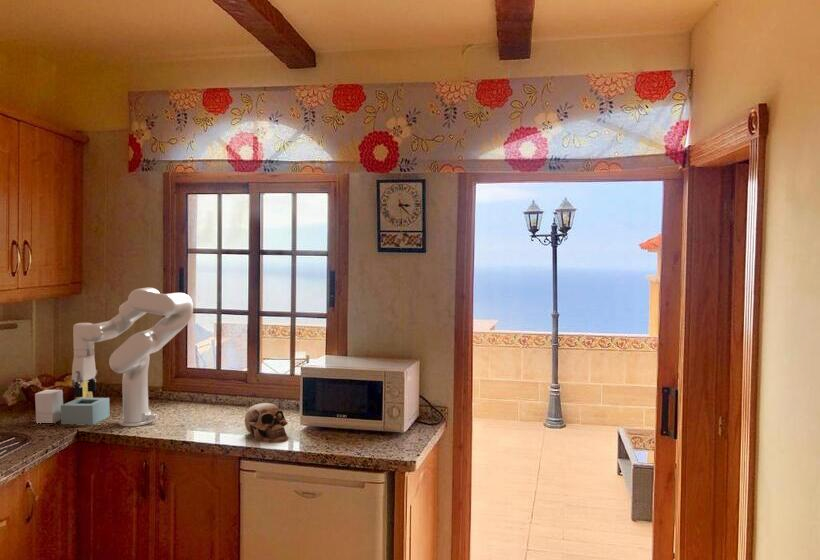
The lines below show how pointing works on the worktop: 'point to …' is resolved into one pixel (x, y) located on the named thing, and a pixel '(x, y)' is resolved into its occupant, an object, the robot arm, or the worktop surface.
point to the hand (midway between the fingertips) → (85, 394)
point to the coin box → (85, 411)
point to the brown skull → (266, 423)
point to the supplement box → (48, 406)
